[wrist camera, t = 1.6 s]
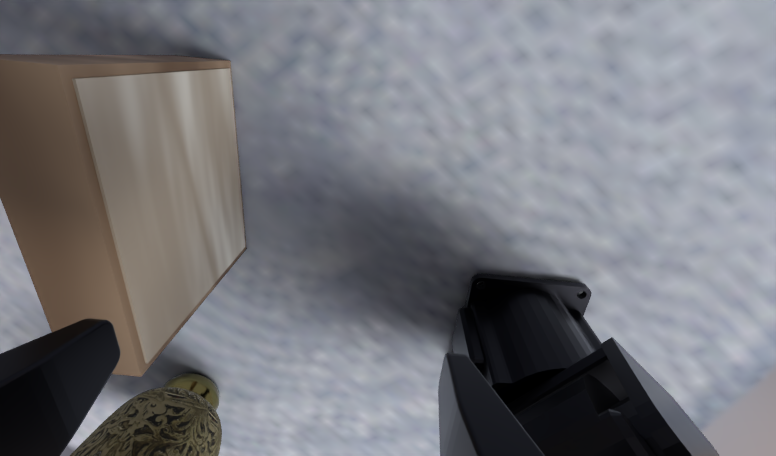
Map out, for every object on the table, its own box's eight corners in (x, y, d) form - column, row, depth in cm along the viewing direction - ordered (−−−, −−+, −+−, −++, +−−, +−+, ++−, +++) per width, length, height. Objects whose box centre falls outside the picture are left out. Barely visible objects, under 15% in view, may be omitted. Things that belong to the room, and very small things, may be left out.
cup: (118, 361, 24) (-3, 490, 17) (214, 333, 23) (127, 461, 16) (181, 433, 27) (101, 570, 20) (269, 413, 26) (217, 551, 19)
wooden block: (232, 60, 16) (60, 65, 8) (248, 248, 20) (143, 377, 12) (172, 54, 16) (-59, 53, 8) (200, 244, 20) (63, 369, 12)
